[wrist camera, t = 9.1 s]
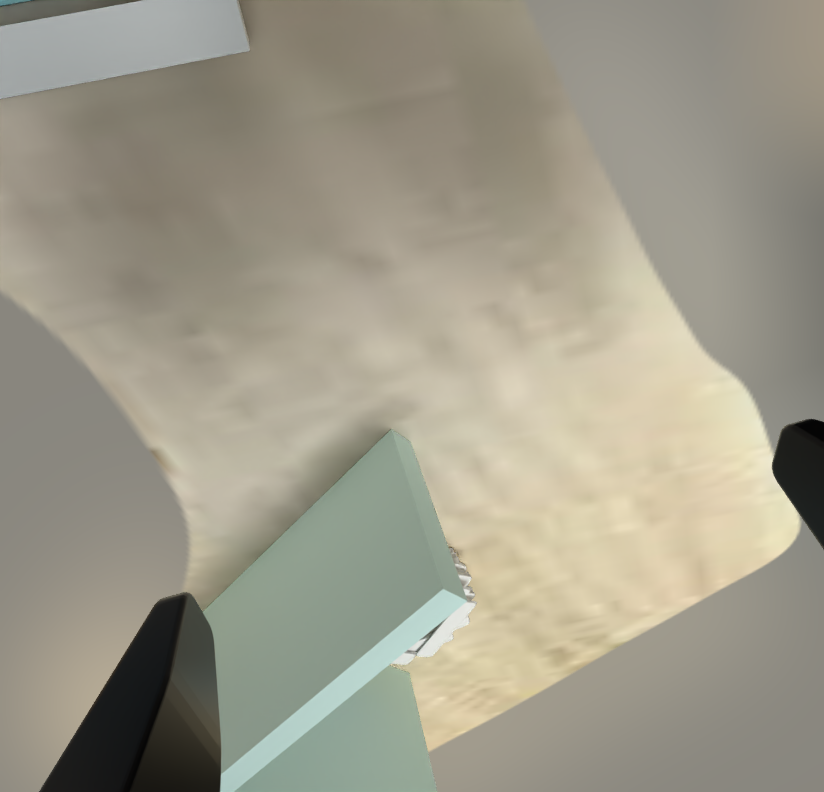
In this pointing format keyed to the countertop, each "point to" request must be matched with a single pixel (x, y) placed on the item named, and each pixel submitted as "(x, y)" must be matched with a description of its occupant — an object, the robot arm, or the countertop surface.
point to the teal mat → (11, 2)
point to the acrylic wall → (116, 42)
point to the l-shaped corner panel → (338, 638)
